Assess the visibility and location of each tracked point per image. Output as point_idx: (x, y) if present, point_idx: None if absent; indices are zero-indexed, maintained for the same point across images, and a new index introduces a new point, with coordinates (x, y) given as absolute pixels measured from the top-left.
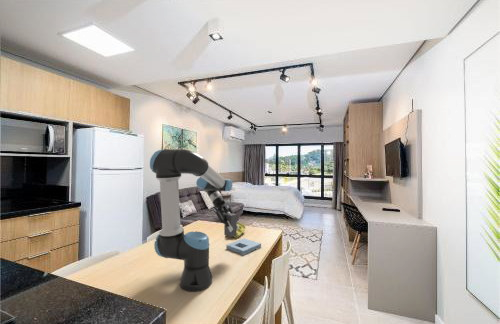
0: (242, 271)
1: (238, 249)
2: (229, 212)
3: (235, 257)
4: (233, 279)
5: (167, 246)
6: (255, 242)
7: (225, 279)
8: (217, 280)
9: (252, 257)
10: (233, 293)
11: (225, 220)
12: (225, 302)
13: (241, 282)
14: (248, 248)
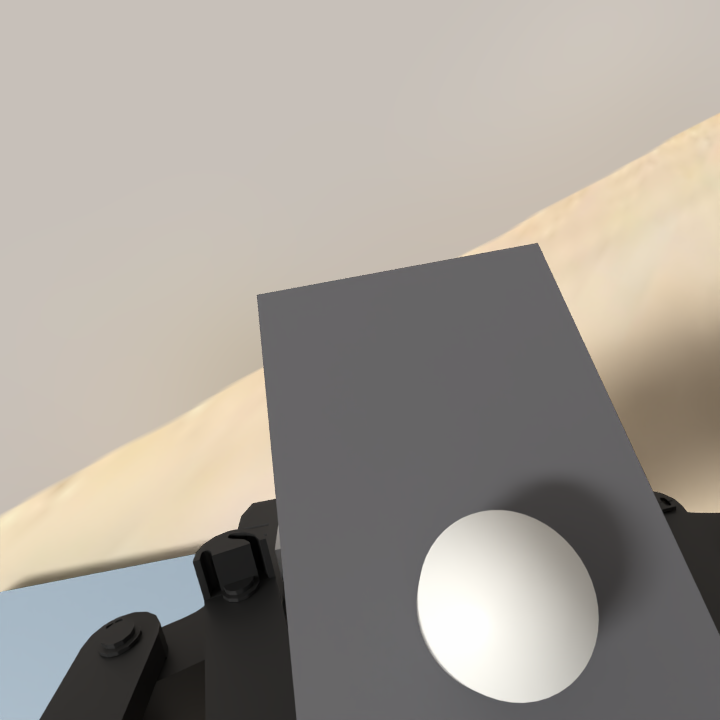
0: None
1: None
2: (494, 516)
3: None
4: (584, 267)
5: None
6: None
7: (634, 291)
8: (692, 307)
9: (259, 448)
10: (641, 174)
11: (666, 496)
12: (704, 145)
13: (553, 223)
14: (182, 566)
